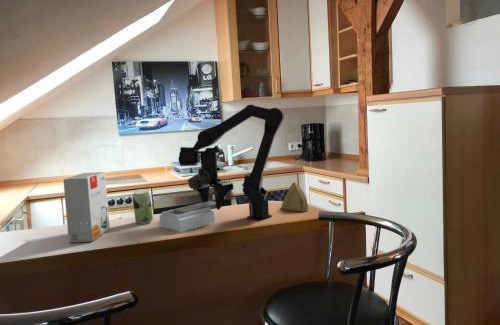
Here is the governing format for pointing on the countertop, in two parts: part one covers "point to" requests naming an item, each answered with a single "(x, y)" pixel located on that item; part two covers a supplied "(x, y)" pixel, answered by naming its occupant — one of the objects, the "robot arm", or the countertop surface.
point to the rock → (295, 199)
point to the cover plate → (195, 207)
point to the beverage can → (142, 206)
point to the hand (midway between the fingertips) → (211, 208)
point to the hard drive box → (86, 206)
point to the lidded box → (187, 219)
